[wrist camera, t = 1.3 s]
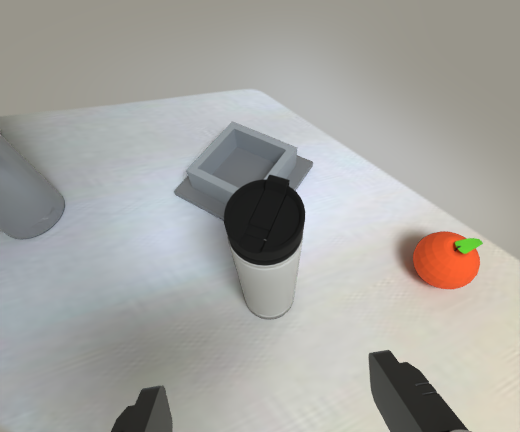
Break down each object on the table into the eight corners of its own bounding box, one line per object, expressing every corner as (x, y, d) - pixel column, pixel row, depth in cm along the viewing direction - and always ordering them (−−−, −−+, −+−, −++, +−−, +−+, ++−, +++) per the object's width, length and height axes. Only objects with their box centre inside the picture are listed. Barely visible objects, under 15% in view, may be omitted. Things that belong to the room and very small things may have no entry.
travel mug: (301, 279, 40) (318, 185, 24) (283, 327, 37) (289, 260, 20) (257, 263, 42) (244, 164, 25) (237, 308, 39) (206, 230, 22)
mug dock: (175, 194, 49) (166, 174, 45) (232, 132, 56) (229, 110, 51) (261, 240, 44) (259, 222, 40) (312, 166, 51) (315, 143, 46)
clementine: (444, 238, 43) (472, 209, 37) (480, 283, 39) (517, 259, 33) (394, 257, 42) (414, 230, 36) (426, 305, 38) (454, 285, 32)
